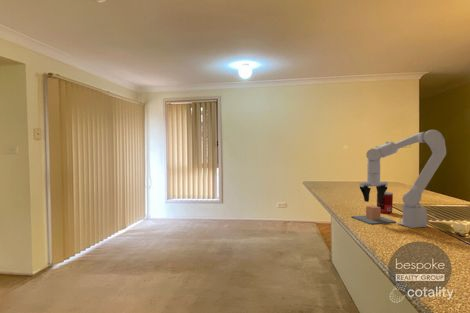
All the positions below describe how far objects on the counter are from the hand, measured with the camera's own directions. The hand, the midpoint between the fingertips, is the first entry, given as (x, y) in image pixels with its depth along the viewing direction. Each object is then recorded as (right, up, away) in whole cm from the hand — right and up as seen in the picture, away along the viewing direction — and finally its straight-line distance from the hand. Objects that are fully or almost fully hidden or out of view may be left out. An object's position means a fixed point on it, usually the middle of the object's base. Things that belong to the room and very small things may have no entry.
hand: (373, 201), depth 146 cm
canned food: (+14, -9, +17) cm, 24 cm away
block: (0, -9, 0) cm, 9 cm away
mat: (0, -9, 0) cm, 9 cm away
